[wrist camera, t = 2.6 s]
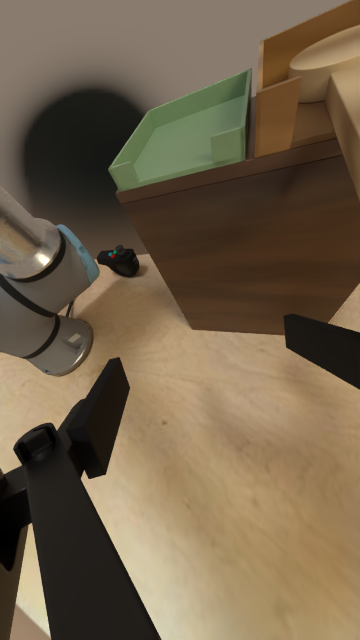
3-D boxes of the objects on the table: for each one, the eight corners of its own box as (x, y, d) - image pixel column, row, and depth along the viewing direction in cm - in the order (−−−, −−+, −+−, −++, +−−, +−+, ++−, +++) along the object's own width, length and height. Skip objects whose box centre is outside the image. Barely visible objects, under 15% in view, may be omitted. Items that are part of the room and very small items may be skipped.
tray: (154, 132, 22) (148, 110, 20) (251, 97, 18) (251, 67, 17) (120, 192, 17) (107, 169, 15) (245, 160, 13) (244, 126, 11)
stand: (200, 286, 46) (150, 134, 22) (309, 283, 38) (420, 36, 14) (192, 329, 41) (114, 193, 17) (316, 337, 33) (511, 94, 9)
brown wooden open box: (258, 95, 18) (259, 41, 15) (409, 40, 14) (444, -43, 12) (254, 158, 13) (256, 93, 10) (492, 98, 9) (587, -29, 6)
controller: (143, 279, 53) (124, 253, 45) (110, 278, 58) (87, 254, 50) (148, 268, 55) (130, 240, 47) (115, 268, 60) (94, 243, 52)
